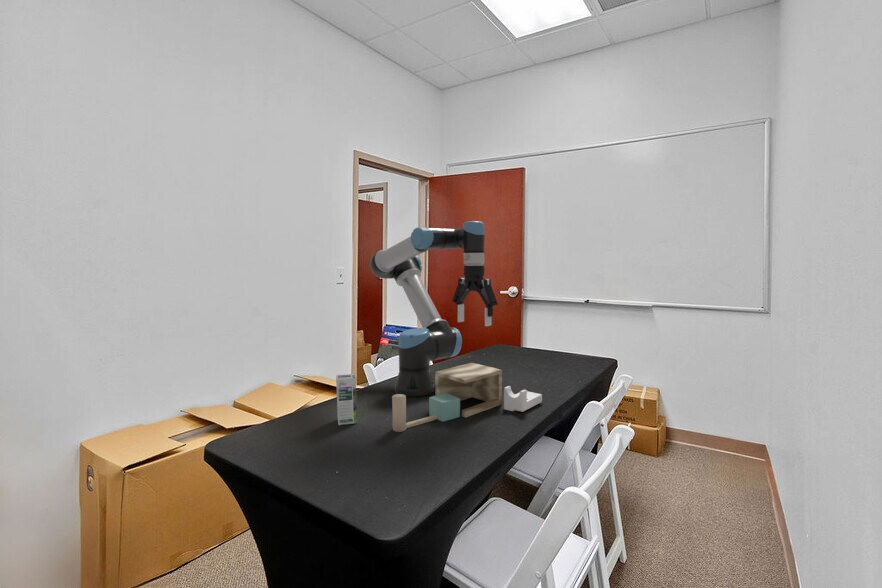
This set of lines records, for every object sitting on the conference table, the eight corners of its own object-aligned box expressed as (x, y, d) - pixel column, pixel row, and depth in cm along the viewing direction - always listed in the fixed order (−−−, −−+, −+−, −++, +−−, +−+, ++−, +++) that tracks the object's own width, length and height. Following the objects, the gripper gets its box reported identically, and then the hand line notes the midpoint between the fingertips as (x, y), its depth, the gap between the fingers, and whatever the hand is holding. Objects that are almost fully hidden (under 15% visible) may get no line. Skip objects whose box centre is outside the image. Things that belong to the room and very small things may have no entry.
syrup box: (338, 425, 131) (336, 379, 130) (337, 418, 137) (336, 374, 136) (357, 423, 133) (356, 377, 131) (355, 417, 138) (354, 372, 137)
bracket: (522, 414, 140) (522, 391, 139) (503, 409, 145) (504, 387, 144) (541, 404, 150) (542, 383, 149) (523, 400, 154) (524, 379, 154)
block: (387, 427, 130) (387, 394, 129) (446, 410, 143) (446, 381, 143) (400, 434, 124) (399, 400, 123) (459, 416, 138) (459, 386, 137)
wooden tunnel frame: (435, 406, 147) (435, 371, 146) (472, 395, 159) (472, 362, 158) (465, 417, 137) (465, 379, 136) (501, 404, 149) (502, 369, 148)
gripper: (442, 265, 161) (443, 321, 163) (493, 265, 143) (493, 328, 145) (457, 264, 166) (457, 319, 168) (507, 265, 148) (507, 326, 150)
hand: (474, 323), depth 156 cm, fingers open, 13 cm apart
